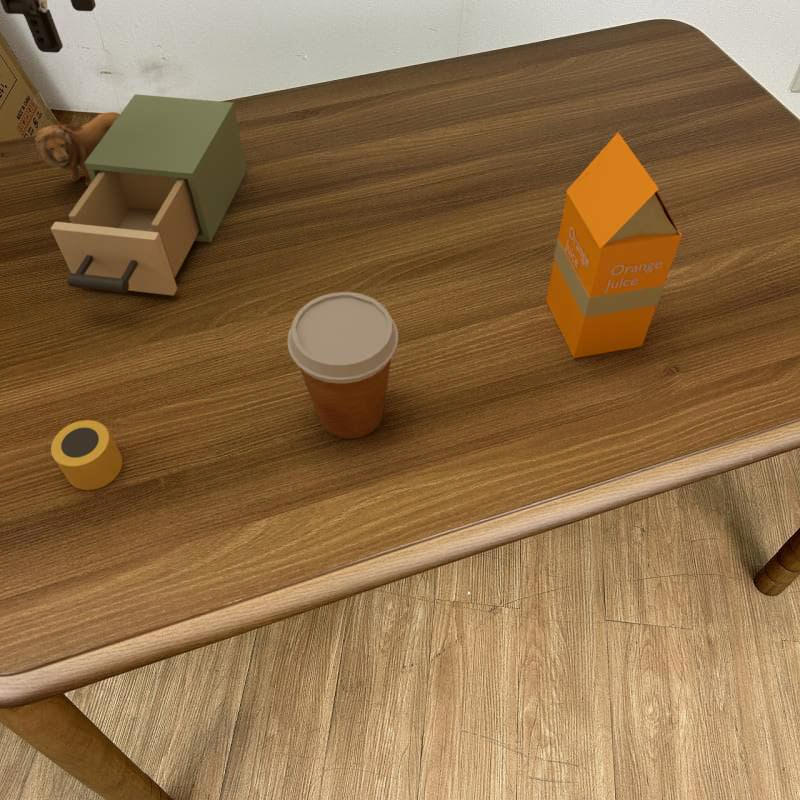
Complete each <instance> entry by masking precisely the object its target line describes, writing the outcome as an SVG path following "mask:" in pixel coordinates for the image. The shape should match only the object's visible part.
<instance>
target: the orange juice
mask: <svg viewBox="0 0 800 800" xmlns="http://www.w3.org/2000/svg"><path fill="white" fill-rule="evenodd" d="M659 189H660V188H659V187H658V185H657V184H656V182H655V181H654V180H653V178H652V177H651V176H650V174H649V173H648V172H647V170H646V169H645V167H644V166H643V165H642V164H641V161H640V160H639V159H638V158H637V156H636V155H635V153H634V152H633V150H632V149H631V148H630V147H629V145H628V144H627V142H626V141H625V139H624V138H623V137H622V135H621V134H620V133H619V132H616V134H615V135H614V136H613V137H612V138H611V139H610V141H608V143H607V144H606V145H605V146H604V147H603V149H602V150H600V152H599V153H598V154H597V155H596V156H595V157H594V159H593V160H592V161H591V162H590V163H589V164H588V166H587V167H586V168H585V169H584V170H583V171H582V172H581V173H580V175H579V176H578V177H577V178H576V179H575V180H574V182H572V184H571V185H570V186H569V187H568V188H567V190H566V195H565V202H564V207H563V211H562V217H561V222H560V227H559V231H558V232H559V233H558V235H557V236H558V237H557V240H556V245H555V249H554V255H553V262H552V268H551V271H550V277H549V281H548V282H549V283H548V287H547V293H546V296H545V302H546V305H547V306H548V308H549V310H550V312H551V315H552V317H553V319H554V320H555V323H556V324H557V327H558V329H559V331H560V333H561V335H562V337H563V339H564V341H565V344H566V346H567V347H568V349H569V352H570V353H571V356H572V358H573V359H578V358H583V357H590V356H595V355H600V354H606V353H607V354H608V353H611V352H617V351H622V350H628V349H635V348H640V347H643V345H644V341H645V340H646V336H647V333H648V330H649V327H650V326H651V322H652V319H653V317H654V314H655V312H656V309H657V306H658V304H659V302H660V299H661V296H662V294H663V291H664V288H665V283H666V281H667V278H668V275H669V273H670V270H671V267H672V264H673V262H674V258H675V256H676V253H677V250H678V248H679V245H680V242H681V240H682V238H683V237H682V233H681V231H680V230H679V229H678V227H677V226H676V224H675V222H674V220H673V218H672V216H671V214H670V212H669V210H668V209H667V207H666V204H665V203H664V201H663V198H662V197H661V195H660V193H659Z"/></svg>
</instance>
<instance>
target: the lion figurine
mask: <svg viewBox="0 0 800 800" xmlns="http://www.w3.org/2000/svg"><path fill="white" fill-rule="evenodd" d="M120 114H121V113H119V112H115V111H108V112H101V113H99V114H98V115H96V116H95V117H94V118H93V119H91V120H90V121H88V122H87V123H85V124H82V125H81V126H74V125H72V124H69V123H65V124H56V123H53V124H49V125H47V124H46V125H45V126H44V127H41V128H39V130H38V131H37V133H36V136H35V138H34V140H35V146H36V147H35V148H36V151H37V152H38V153H39V154H40V156H41V157H42V159H43V161H44V162H45V163H46V164H47V165H48V166H50V167H53V168H55V167H57V168H58V167H59V168H61V169H63V170H70V172H71V173H72V174H70V177H69V180H70V182H73V183H75V182H77V181H79V180H80V179H81V178H80V176H81V174H80V172H81V171H80V169H79V167H80V168H81V170H82V171H83V173H84V175H85V179H86V180H85V182H84V184H85V185H86V187H89V186H90V184H91V183H92V182H91V179H90V176H89V174H88V171H87V169H86V167H85V164H84V163H85V161H86V160H87V159H88V157H89V156H90V154H91V153H92V152H93V150H94V149H95V148H96V146H97V145H98V144H99V142H100V141H101V140H102V138H103V137H104V136H105V134H106V133H107V131H108V130H109V129H110V127H111V126H112V125H113V123H114V122H115V121H116V119H117V118H118V117H119V115H120Z"/></svg>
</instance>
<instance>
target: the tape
mask: <svg viewBox="0 0 800 800" xmlns="http://www.w3.org/2000/svg"><path fill="white" fill-rule="evenodd" d="M50 447H51V448H50V454H51V456H52V458H53V460H54V461H55V463H56V465H58V467H59V469H60V471H61V472H62V473H63V474H64V476H65V478H66V479H67V481H68V482H69V483H70V485H71V486H73V487H74V488H76V489H79V490H83V491H95V490H99V489H102V488H103V487H106V486H107V485H109V484H111V483H112V482H113V481H114V480H115V479H116V478H117V477H118V476H119V474H120V472H121V470H122V467H123V456H122V454H121V452H120V450H119V448H118V446H117V445H116V442H115V441H114V439H113V437H112V435H111V434H110V431H109V430H108V428H107V427H106V426H105V425H104V424H102V423H101V422H99V421H96V420H91V419H84V420H78V421H75V422H72V423H70V424H68V425H66V426H65V427H63V428H61V430H60V431H58V432H57V434H56V435H55V436H54V438H53V440H52V442H51V446H50Z"/></svg>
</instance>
